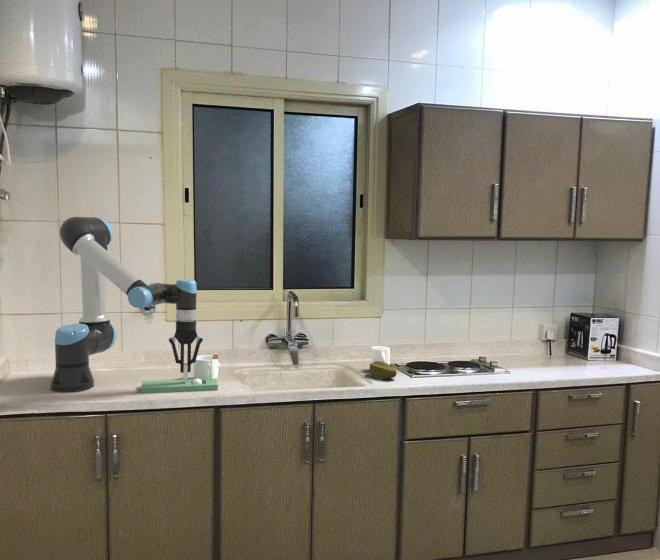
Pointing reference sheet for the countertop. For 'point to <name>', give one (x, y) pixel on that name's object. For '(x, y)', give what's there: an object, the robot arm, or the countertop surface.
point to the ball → (197, 381)
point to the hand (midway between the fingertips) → (185, 380)
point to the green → (180, 384)
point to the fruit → (382, 370)
